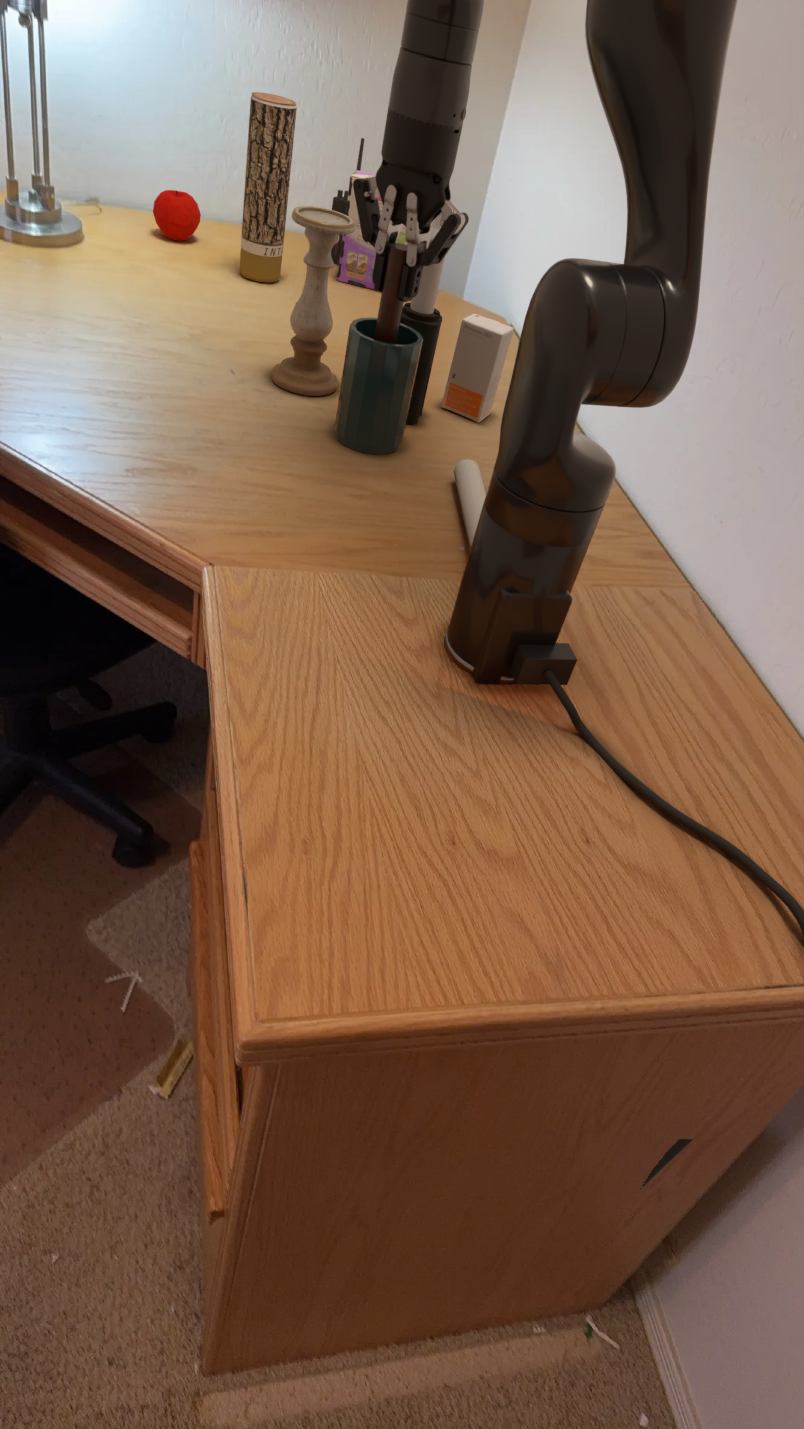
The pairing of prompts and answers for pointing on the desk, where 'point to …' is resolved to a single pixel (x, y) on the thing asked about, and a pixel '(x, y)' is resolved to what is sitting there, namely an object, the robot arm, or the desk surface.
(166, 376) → the desk surface
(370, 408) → the teal pencil cup
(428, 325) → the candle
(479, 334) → the cosmetic box
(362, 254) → the candy box
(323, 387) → the candle holder
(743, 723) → the desk surface
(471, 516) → the tube
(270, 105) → the paper tube
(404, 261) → the brush
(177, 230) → the apple
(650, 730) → the desk surface
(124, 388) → the desk surface
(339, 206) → the walkie-talkie
